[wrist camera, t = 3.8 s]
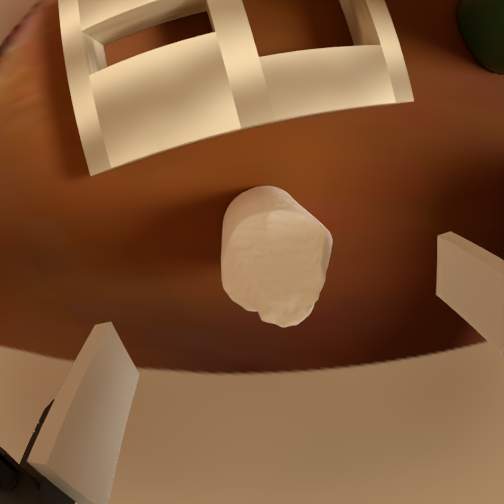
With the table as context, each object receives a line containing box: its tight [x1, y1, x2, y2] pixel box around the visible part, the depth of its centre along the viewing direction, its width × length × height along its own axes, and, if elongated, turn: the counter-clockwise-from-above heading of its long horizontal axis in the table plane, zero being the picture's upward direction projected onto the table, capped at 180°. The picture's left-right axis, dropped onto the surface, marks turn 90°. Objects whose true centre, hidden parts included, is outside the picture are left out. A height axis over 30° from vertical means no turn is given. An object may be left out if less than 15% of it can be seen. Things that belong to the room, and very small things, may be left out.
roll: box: [221, 186, 332, 327], centre depth 17 cm, size 6×12×6 cm
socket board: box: [58, 0, 414, 176], centre depth 16 cm, size 16×21×4 cm
